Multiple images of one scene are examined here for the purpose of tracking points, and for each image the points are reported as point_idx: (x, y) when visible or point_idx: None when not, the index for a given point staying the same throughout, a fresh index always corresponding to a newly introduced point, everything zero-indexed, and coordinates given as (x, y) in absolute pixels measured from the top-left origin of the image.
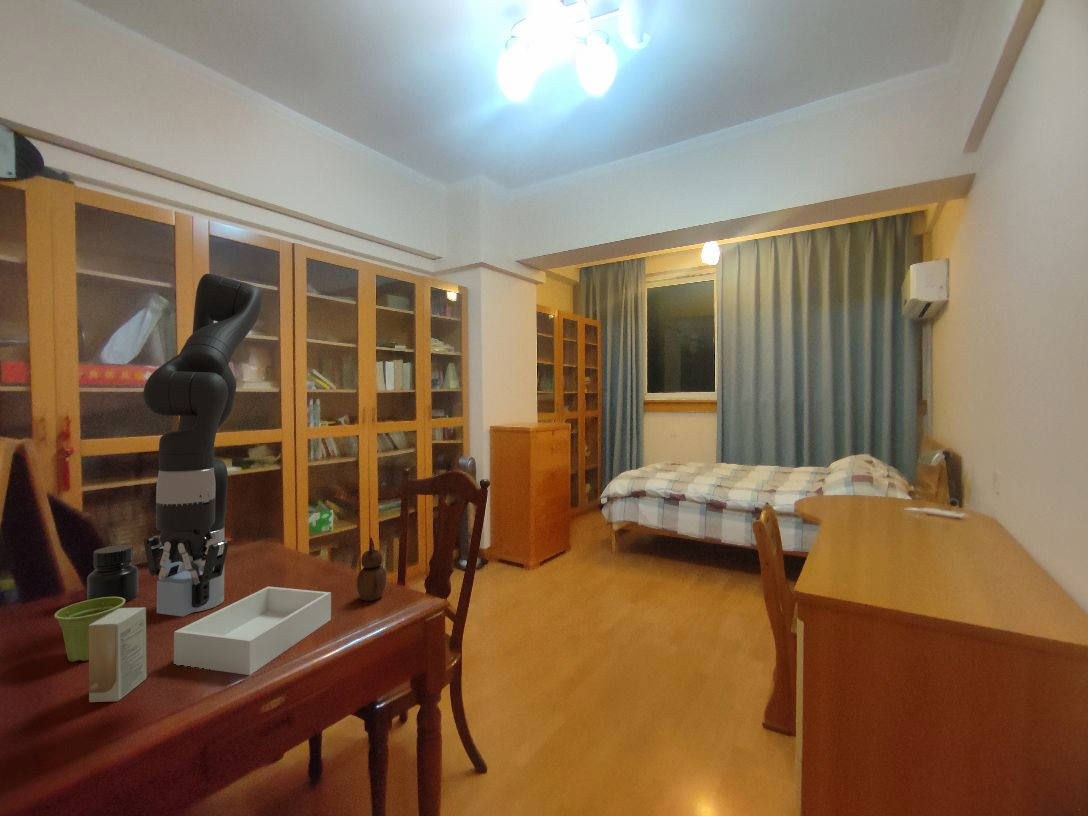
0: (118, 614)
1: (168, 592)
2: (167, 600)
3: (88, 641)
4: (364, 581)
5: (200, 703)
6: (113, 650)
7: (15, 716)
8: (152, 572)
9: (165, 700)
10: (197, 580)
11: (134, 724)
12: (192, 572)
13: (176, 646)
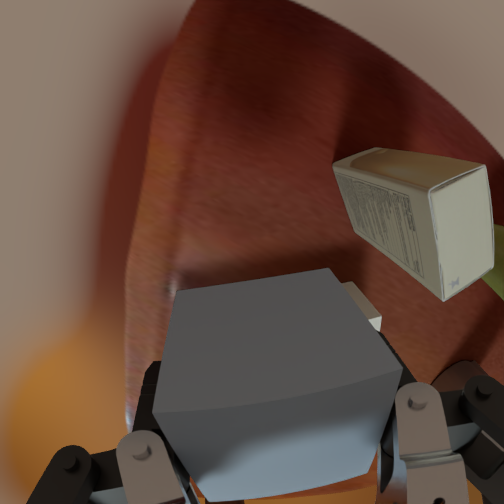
0: (472, 239)
1: (283, 345)
2: (279, 314)
3: (497, 244)
4: (219, 502)
5: (167, 217)
6: (390, 173)
7: (433, 95)
8: (480, 389)
9: (245, 197)
10: (123, 452)
11: (220, 126)
12: (159, 496)
13: (361, 300)
